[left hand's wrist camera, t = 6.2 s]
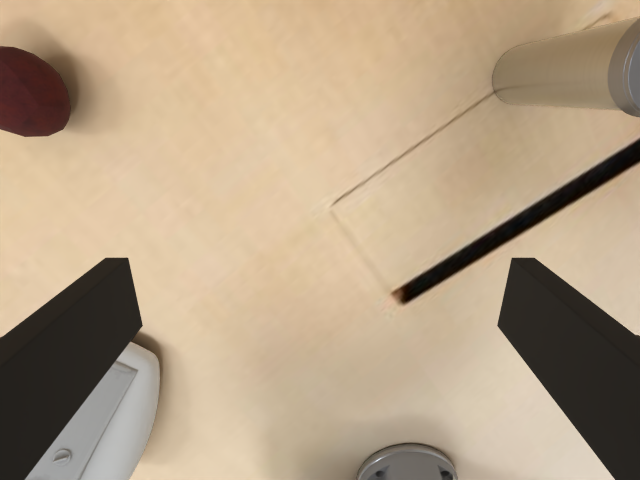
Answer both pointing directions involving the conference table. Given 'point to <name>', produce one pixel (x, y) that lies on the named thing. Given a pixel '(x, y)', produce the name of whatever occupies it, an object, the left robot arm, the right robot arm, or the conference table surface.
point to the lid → (626, 71)
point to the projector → (108, 424)
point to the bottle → (561, 69)
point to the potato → (31, 95)
